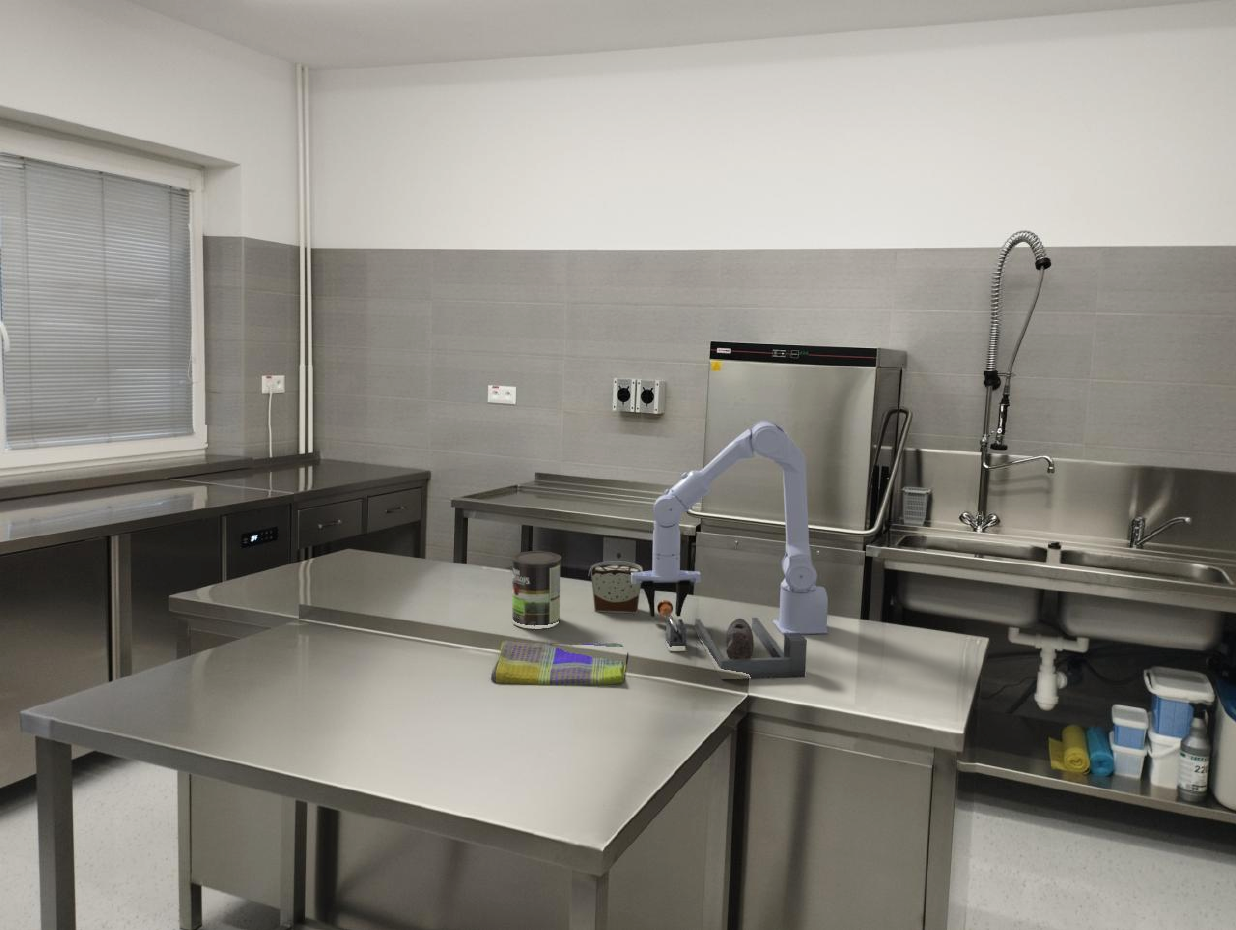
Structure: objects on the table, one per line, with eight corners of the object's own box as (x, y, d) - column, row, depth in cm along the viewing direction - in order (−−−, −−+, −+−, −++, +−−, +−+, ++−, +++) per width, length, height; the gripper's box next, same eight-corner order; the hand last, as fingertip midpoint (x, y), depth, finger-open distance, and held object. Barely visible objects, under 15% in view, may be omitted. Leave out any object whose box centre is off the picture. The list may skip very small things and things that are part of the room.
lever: (671, 613, 202) (672, 597, 201) (684, 639, 186) (685, 622, 185) (655, 613, 201) (656, 598, 201) (667, 639, 185) (667, 623, 185)
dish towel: (622, 690, 166) (623, 675, 166) (485, 685, 168) (485, 670, 167) (628, 654, 183) (628, 641, 183) (503, 650, 185) (503, 636, 184)
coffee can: (528, 633, 193) (528, 566, 191) (502, 619, 201) (502, 555, 199) (570, 623, 199) (570, 558, 197) (543, 610, 207) (543, 548, 205)
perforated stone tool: (726, 641, 190) (727, 608, 189) (752, 643, 189) (754, 609, 188) (724, 669, 175) (725, 633, 174) (753, 671, 174) (754, 635, 173)
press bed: (768, 629, 197) (769, 596, 196) (805, 677, 172) (806, 640, 170) (660, 631, 195) (661, 598, 194) (682, 680, 169) (682, 643, 168)
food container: (646, 604, 212) (646, 561, 211) (644, 613, 206) (644, 569, 204) (591, 602, 213) (591, 559, 212) (588, 611, 207) (588, 567, 206)
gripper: (697, 547, 202) (695, 608, 204) (629, 548, 201) (628, 610, 203) (703, 556, 195) (701, 619, 198) (633, 557, 194) (632, 620, 196)
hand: (665, 615), depth 200 cm, fingers open, 5 cm apart
